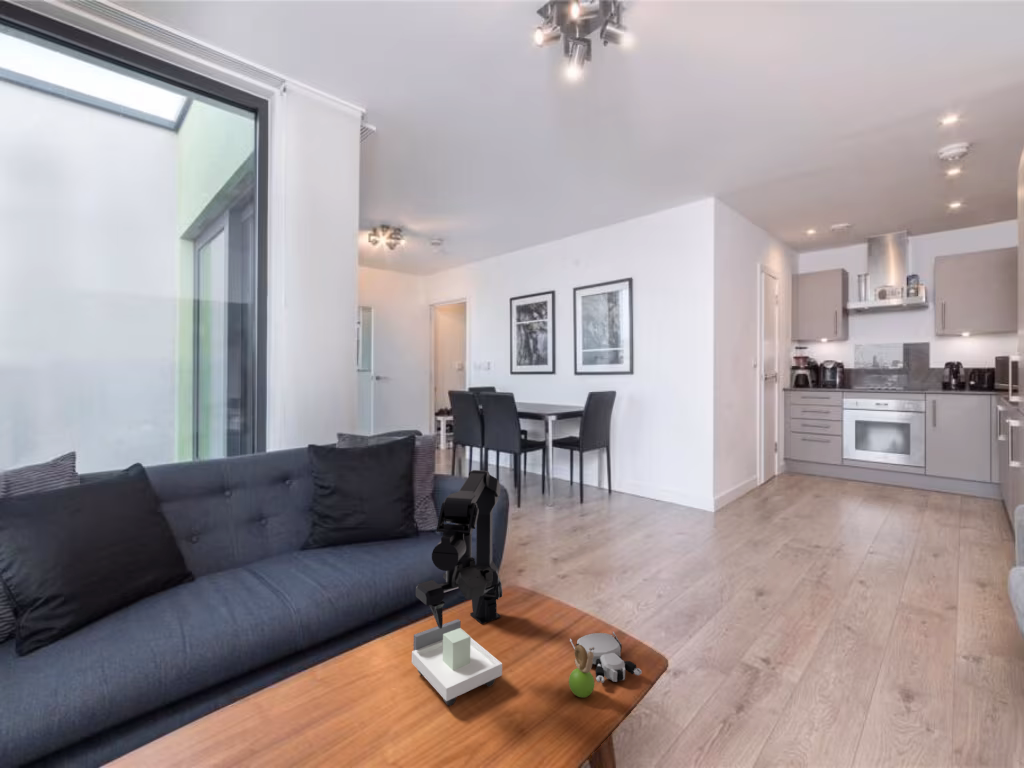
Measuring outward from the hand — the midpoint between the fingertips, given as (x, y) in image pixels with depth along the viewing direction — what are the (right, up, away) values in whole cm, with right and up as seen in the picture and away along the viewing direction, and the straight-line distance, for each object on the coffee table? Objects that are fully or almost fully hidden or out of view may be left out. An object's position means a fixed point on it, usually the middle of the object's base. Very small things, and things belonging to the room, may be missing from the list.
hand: (458, 621), depth 105 cm
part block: (0, -9, -1) cm, 9 cm away
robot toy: (+34, -14, +5) cm, 37 cm away
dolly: (0, -13, -1) cm, 13 cm away
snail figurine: (+27, -13, -6) cm, 31 cm away
